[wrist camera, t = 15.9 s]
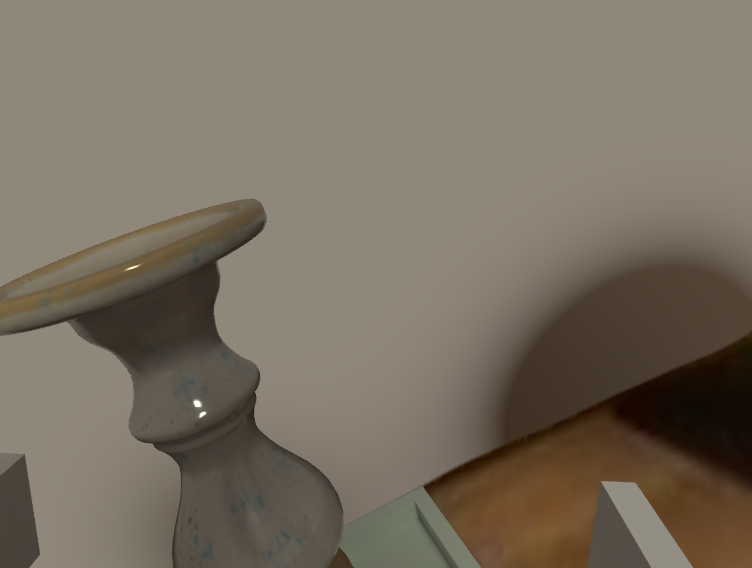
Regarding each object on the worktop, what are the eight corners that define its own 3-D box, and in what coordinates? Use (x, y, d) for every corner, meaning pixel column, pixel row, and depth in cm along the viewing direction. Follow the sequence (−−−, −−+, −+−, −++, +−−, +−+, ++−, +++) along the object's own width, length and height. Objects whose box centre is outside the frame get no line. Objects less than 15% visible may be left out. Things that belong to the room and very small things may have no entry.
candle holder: (327, 580, 35) (168, 213, 28) (488, 643, 28) (329, 175, 21) (185, 764, 27) (-90, 318, 20) (359, 915, 20) (31, 312, 13)
